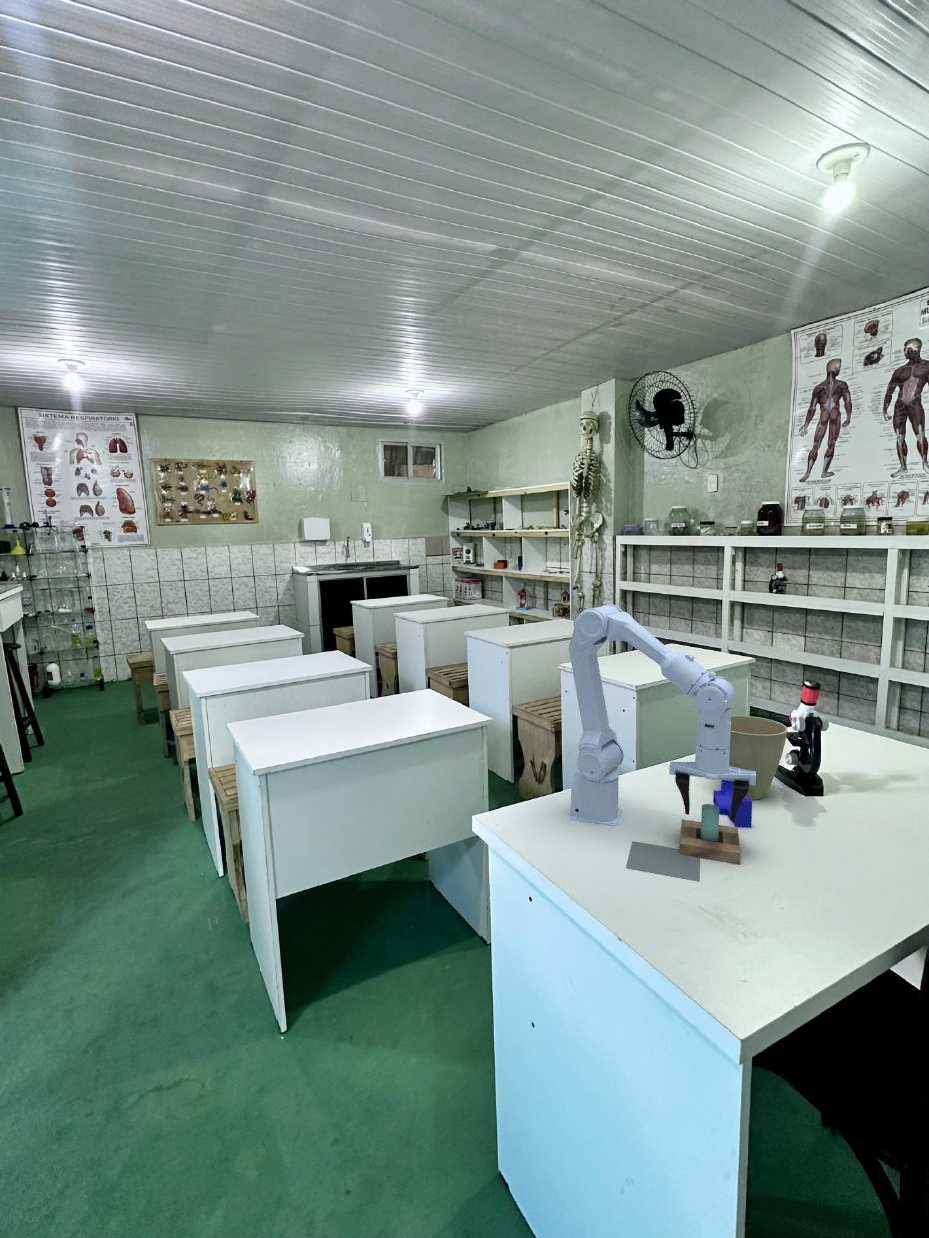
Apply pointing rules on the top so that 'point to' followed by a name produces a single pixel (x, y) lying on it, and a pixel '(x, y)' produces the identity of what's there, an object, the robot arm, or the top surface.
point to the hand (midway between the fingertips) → (709, 815)
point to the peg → (709, 822)
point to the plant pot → (757, 750)
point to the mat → (663, 861)
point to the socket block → (710, 843)
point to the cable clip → (724, 803)
